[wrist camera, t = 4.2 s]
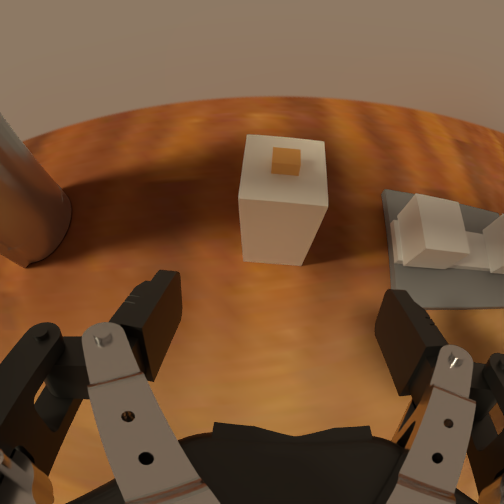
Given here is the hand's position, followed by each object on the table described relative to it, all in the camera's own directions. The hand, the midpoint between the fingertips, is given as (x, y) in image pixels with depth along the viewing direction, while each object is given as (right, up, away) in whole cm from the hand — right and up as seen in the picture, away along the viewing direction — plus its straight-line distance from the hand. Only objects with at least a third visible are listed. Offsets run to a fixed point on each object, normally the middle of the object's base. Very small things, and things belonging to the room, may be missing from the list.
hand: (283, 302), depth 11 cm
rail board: (+21, +2, +14) cm, 25 cm away
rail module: (+1, +3, +15) cm, 15 cm away
